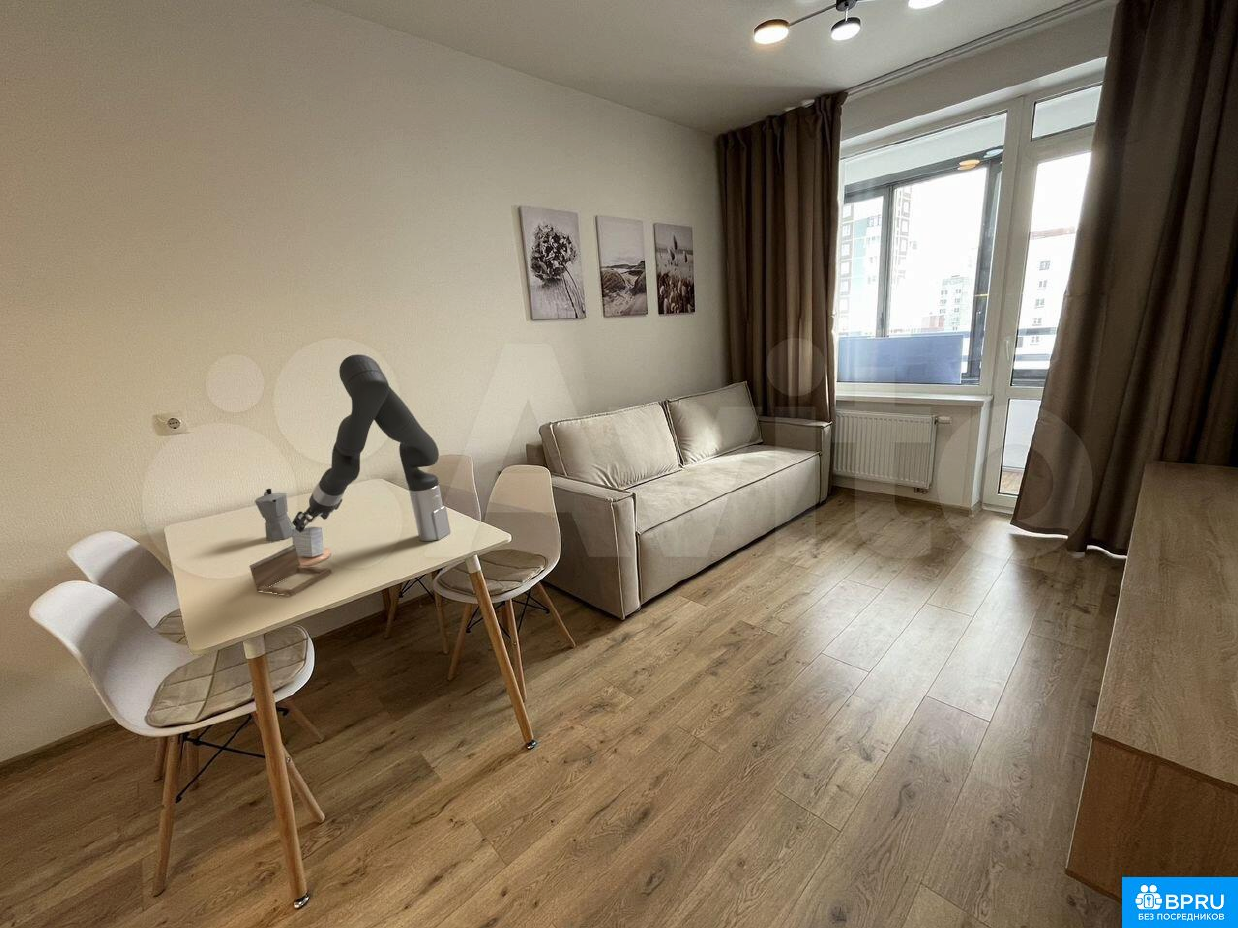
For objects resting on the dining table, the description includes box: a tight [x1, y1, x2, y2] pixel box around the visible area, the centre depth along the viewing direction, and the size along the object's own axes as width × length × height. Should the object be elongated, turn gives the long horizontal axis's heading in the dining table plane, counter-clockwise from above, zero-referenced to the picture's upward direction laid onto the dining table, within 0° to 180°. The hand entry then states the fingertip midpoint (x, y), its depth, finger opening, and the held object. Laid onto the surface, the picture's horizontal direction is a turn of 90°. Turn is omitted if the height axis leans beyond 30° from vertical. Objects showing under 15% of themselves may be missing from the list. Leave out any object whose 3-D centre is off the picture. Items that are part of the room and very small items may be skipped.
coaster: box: [298, 547, 332, 567], centre depth 159 cm, size 12×12×1 cm
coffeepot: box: [254, 488, 295, 542], centre depth 179 cm, size 15×9×18 cm, turn 44°
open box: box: [248, 544, 333, 597], centre depth 143 cm, size 13×13×8 cm
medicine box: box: [291, 525, 325, 557], centre depth 158 cm, size 8×4×9 cm, turn 72°
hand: (311, 523), depth 159 cm, fingers open, 8 cm apart
